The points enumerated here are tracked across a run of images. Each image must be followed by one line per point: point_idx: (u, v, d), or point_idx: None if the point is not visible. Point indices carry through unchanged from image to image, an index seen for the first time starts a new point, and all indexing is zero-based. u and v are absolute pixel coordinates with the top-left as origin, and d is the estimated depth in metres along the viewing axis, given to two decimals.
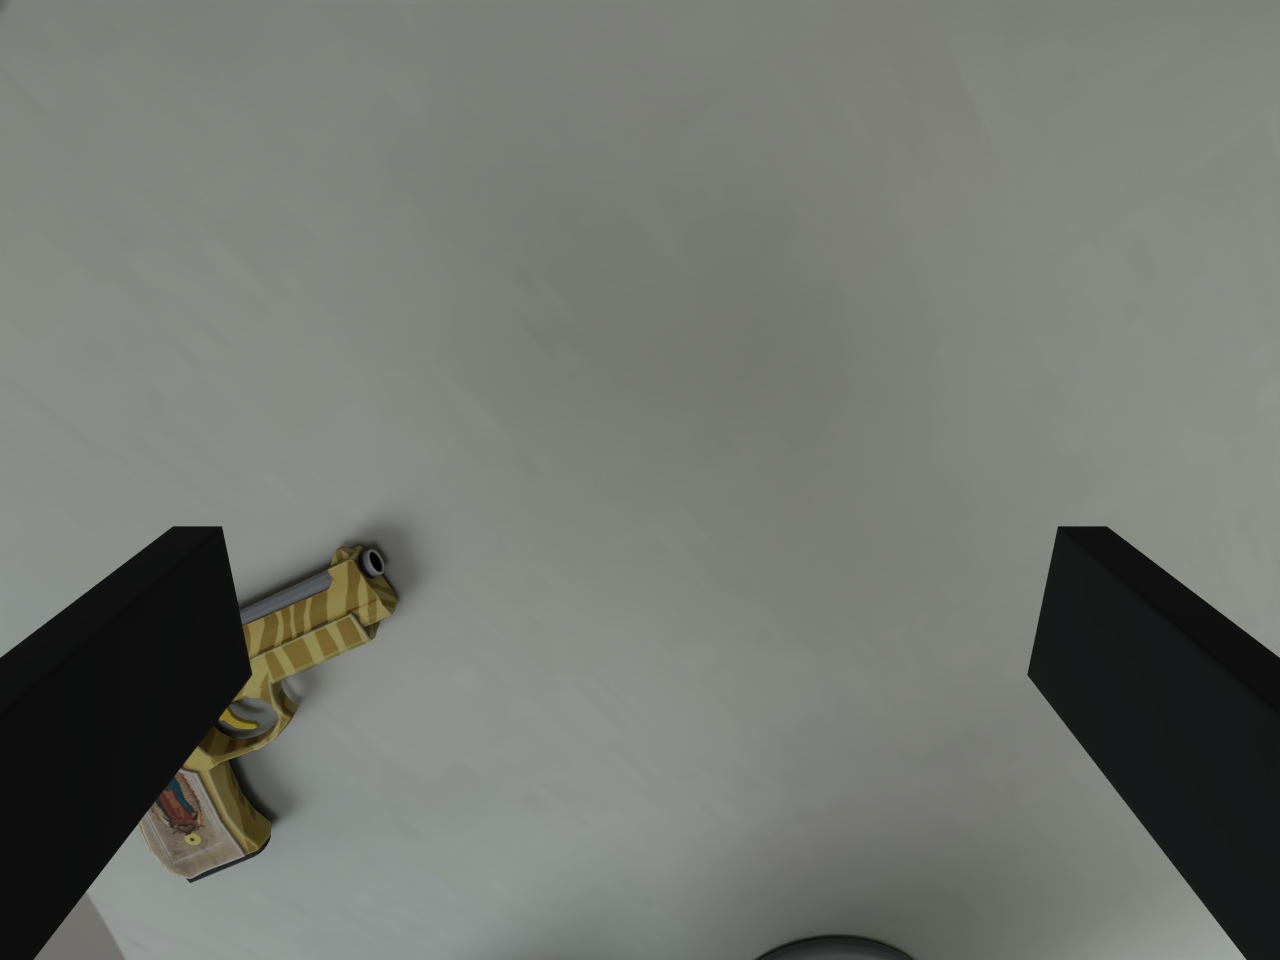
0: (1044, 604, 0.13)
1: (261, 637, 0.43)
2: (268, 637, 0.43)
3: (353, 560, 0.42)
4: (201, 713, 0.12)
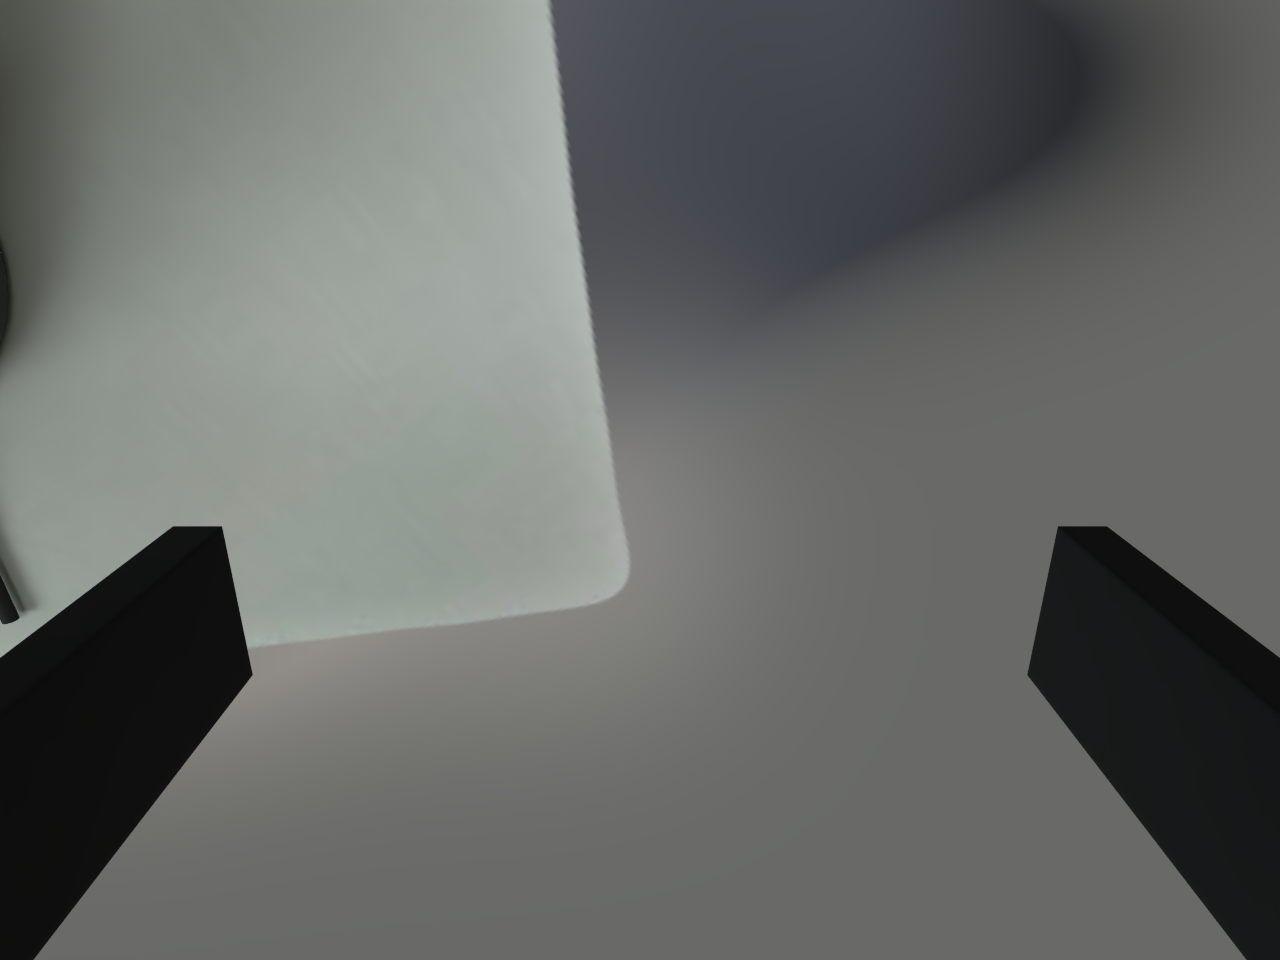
0: (1044, 604, 0.13)
1: None
2: None
3: None
4: (201, 713, 0.12)
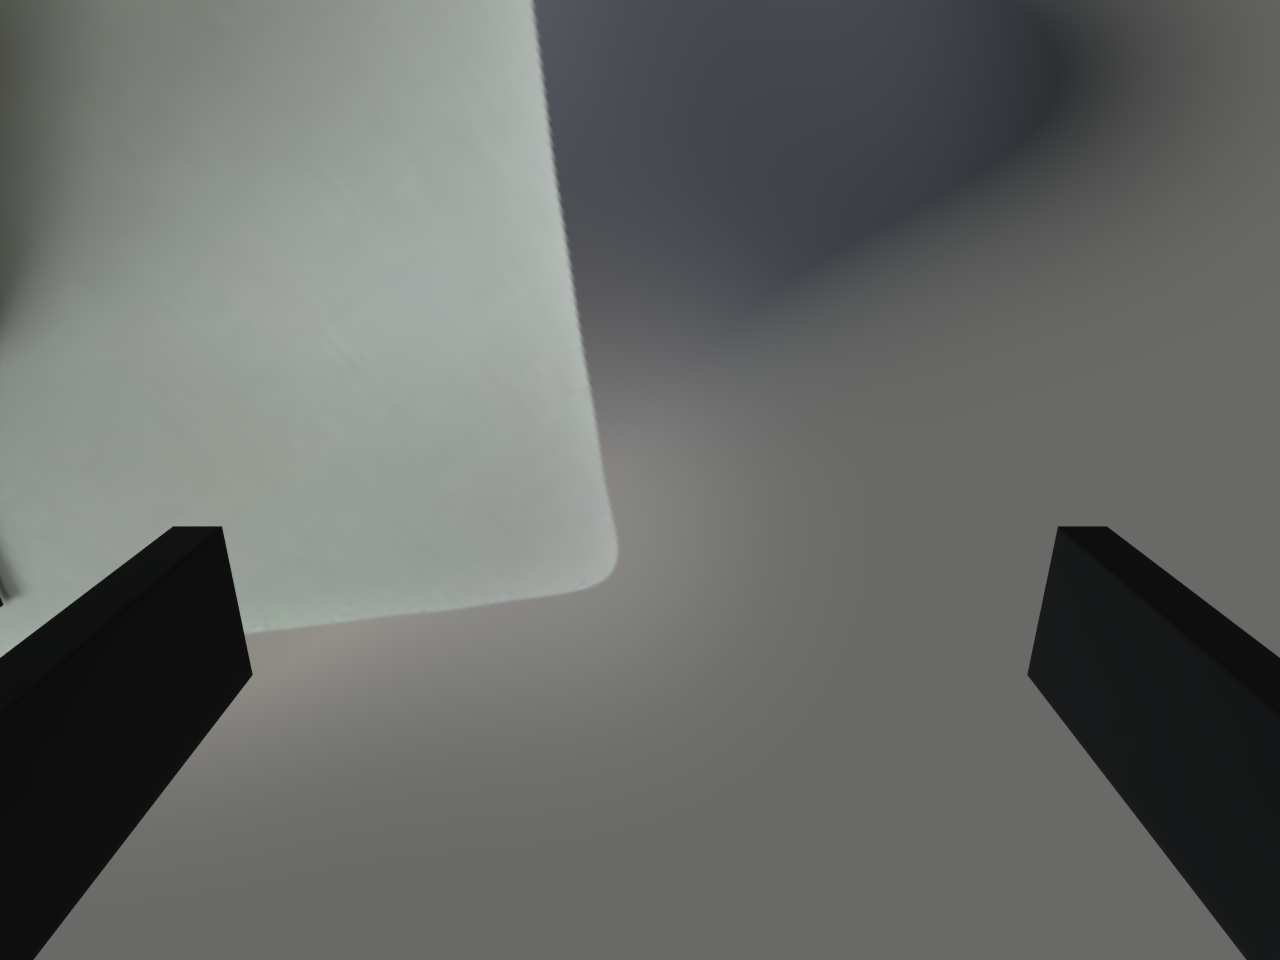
0: (1044, 604, 0.13)
1: None
2: None
3: None
4: (201, 713, 0.12)
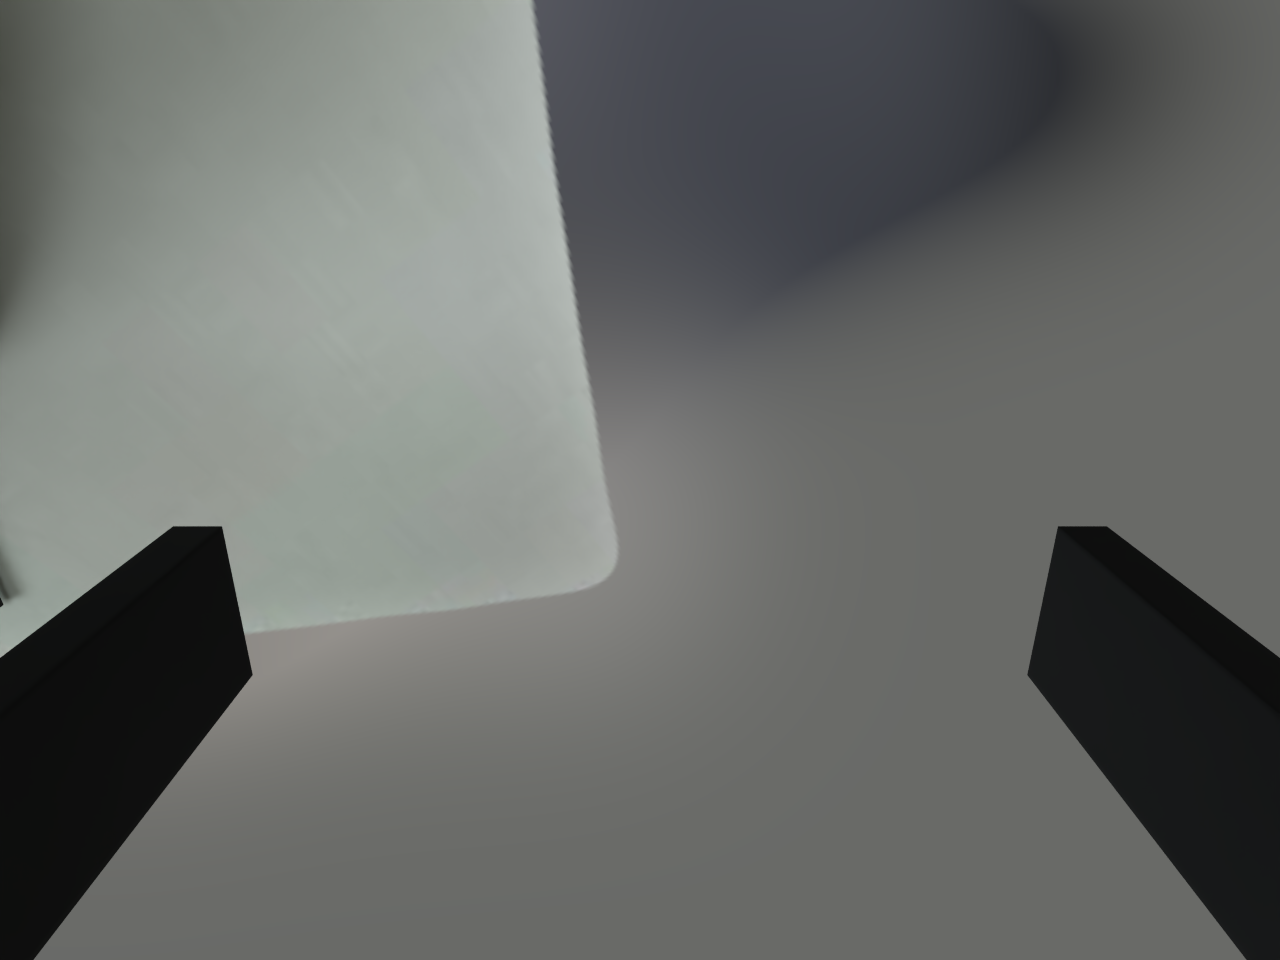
0: (1044, 604, 0.13)
1: None
2: None
3: None
4: (201, 713, 0.12)
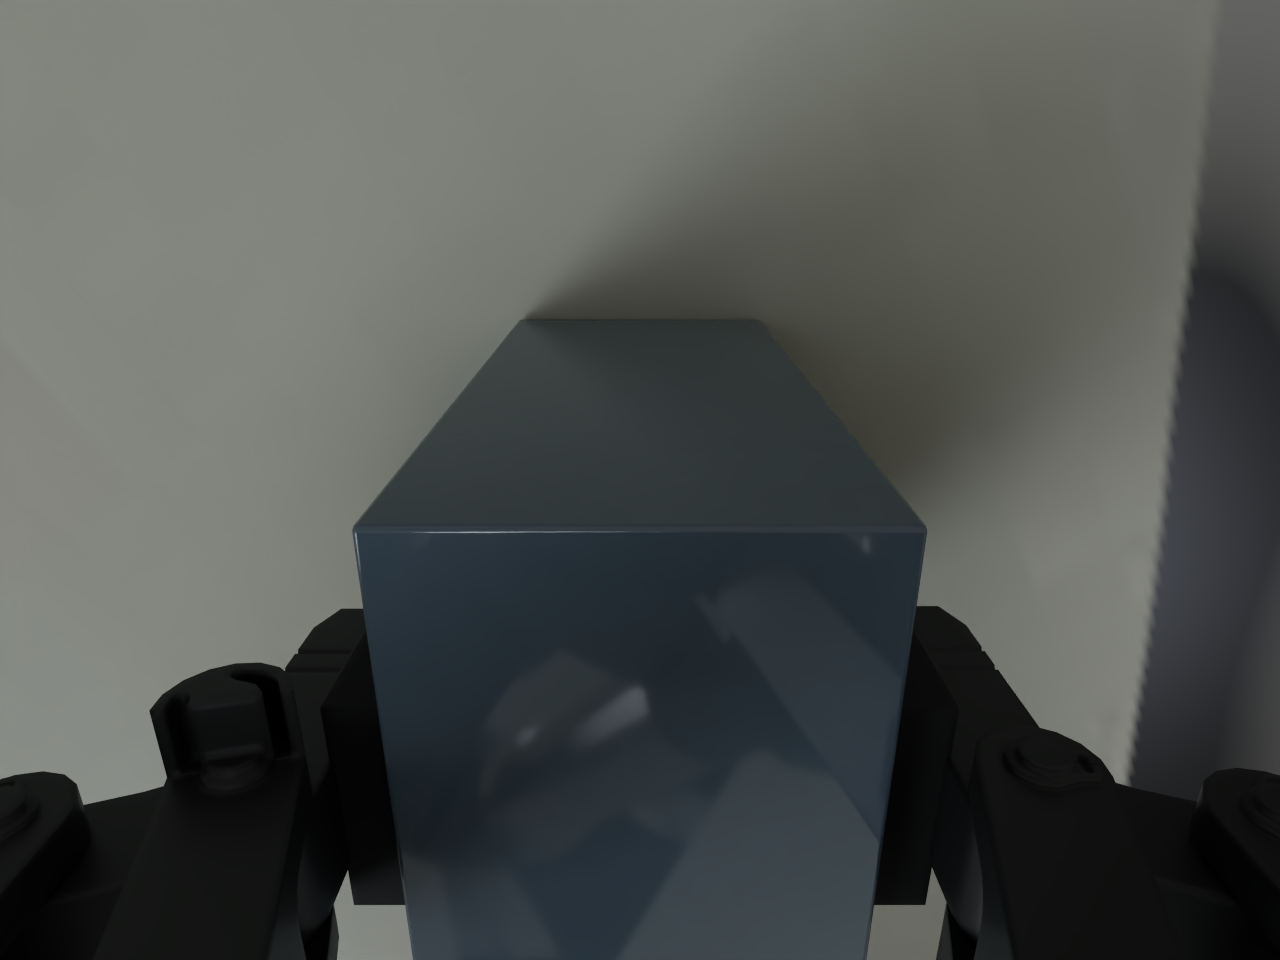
0: None
1: None
2: None
3: None
4: None
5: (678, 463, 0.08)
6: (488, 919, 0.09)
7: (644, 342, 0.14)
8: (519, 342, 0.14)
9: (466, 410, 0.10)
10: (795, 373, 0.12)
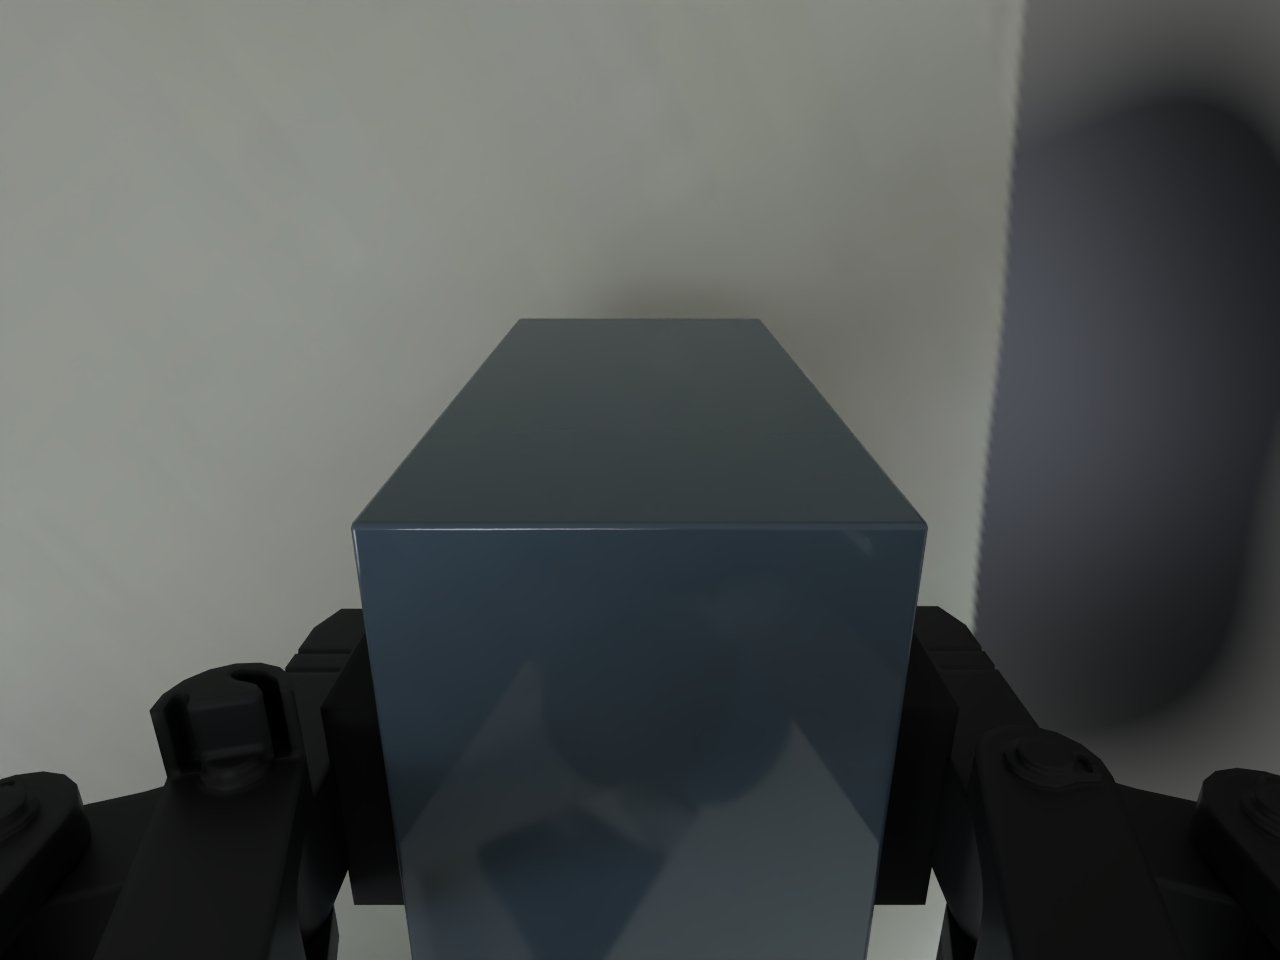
0: None
1: None
2: None
3: None
4: None
5: (678, 461, 0.08)
6: (489, 919, 0.09)
7: (644, 340, 0.14)
8: (519, 340, 0.14)
9: (466, 408, 0.10)
10: (795, 371, 0.12)
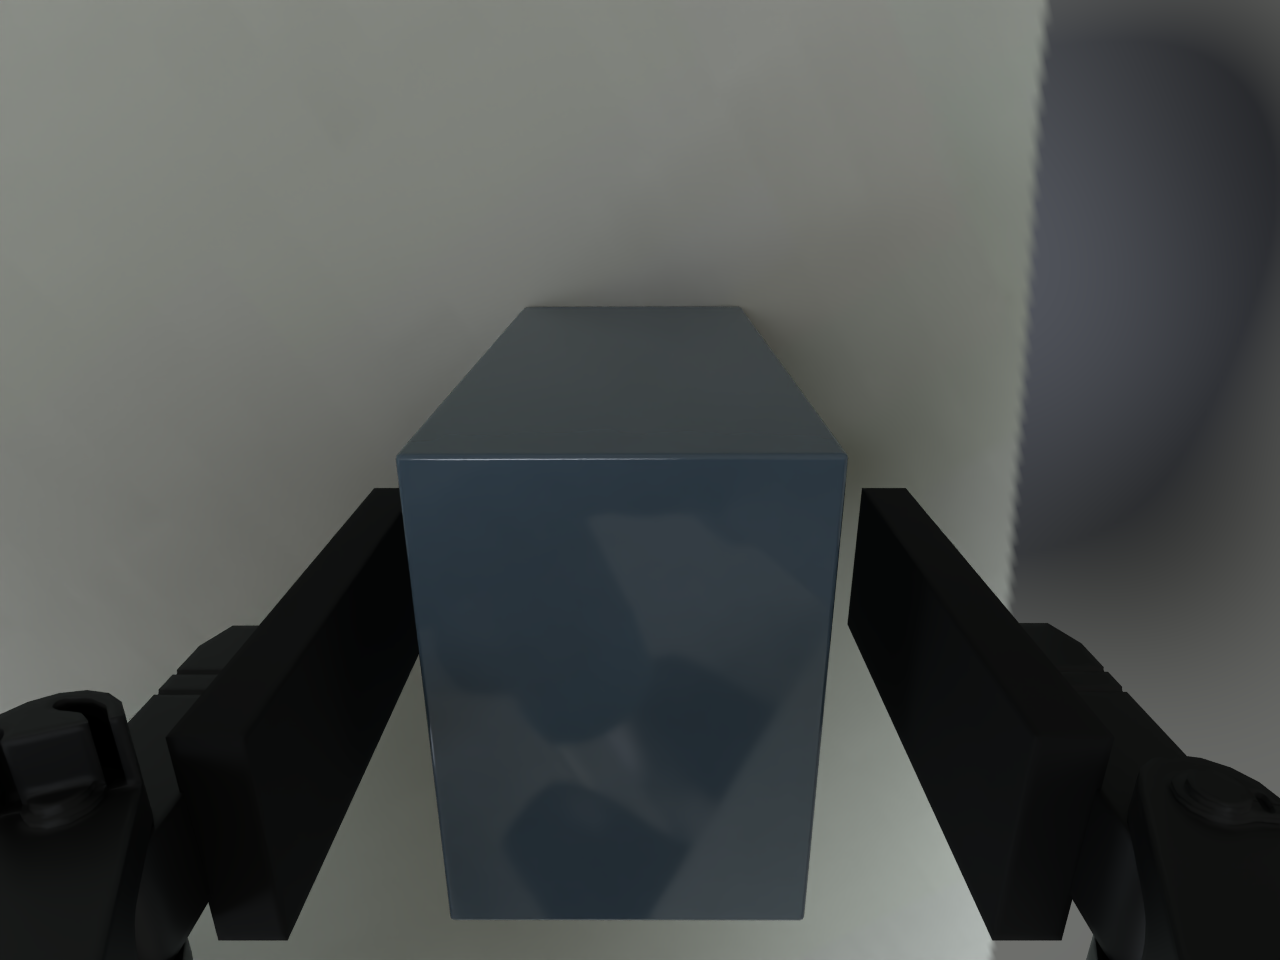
0: (857, 560, 0.14)
1: None
2: None
3: None
4: (408, 651, 0.13)
5: (656, 413, 0.10)
6: (501, 788, 0.10)
7: (635, 324, 0.16)
8: (525, 325, 0.16)
9: (481, 376, 0.12)
10: (764, 348, 0.14)
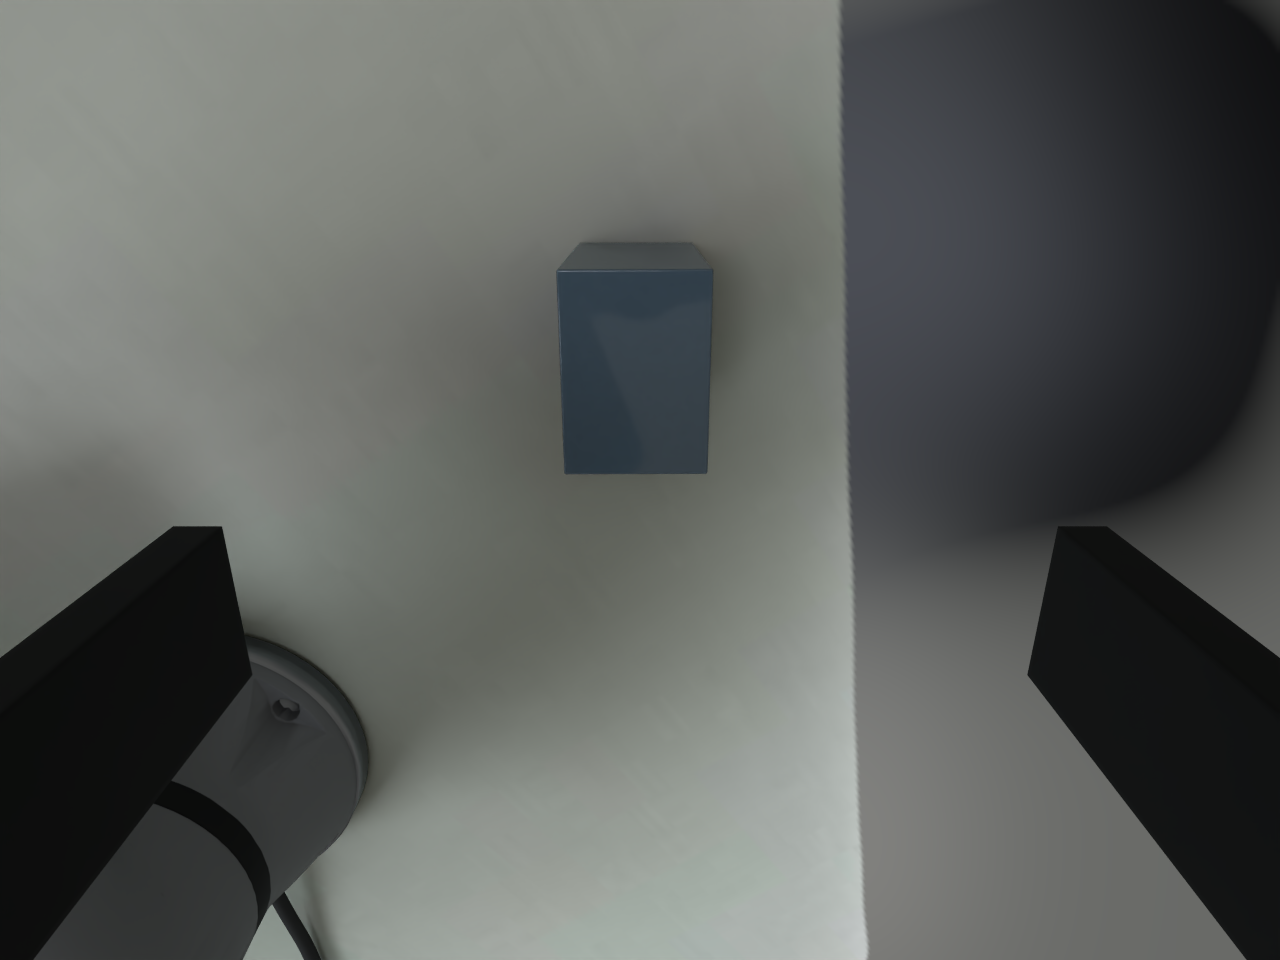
0: (1045, 604, 0.13)
1: None
2: None
3: None
4: (201, 713, 0.12)
5: (647, 263, 0.27)
6: (587, 409, 0.27)
7: (637, 247, 0.33)
8: (583, 247, 0.33)
9: (573, 257, 0.29)
10: (697, 252, 0.31)
